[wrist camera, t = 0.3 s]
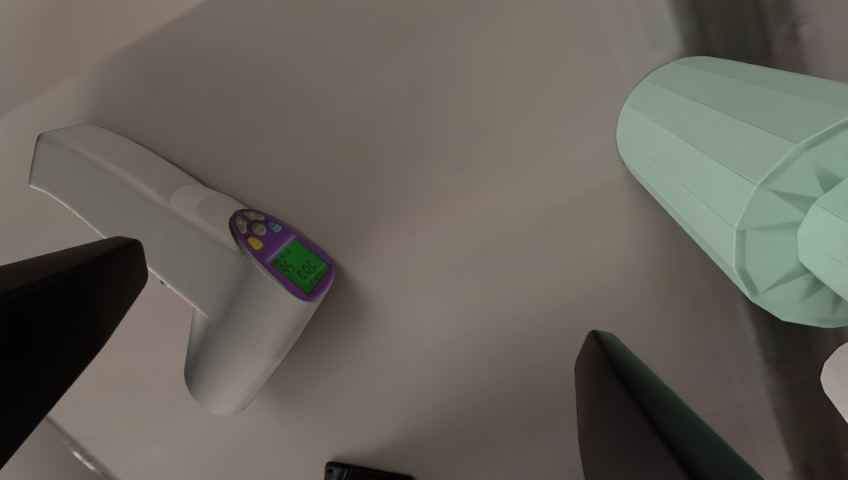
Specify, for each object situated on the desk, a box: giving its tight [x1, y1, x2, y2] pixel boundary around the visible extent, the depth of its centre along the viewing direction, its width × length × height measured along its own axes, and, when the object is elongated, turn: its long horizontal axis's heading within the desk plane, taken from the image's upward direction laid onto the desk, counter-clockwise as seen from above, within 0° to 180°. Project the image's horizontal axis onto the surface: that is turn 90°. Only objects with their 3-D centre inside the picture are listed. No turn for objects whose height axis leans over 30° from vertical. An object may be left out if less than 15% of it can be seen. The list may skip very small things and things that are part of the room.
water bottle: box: [616, 56, 848, 328], centre depth 14 cm, size 6×6×14 cm
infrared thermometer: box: [29, 124, 335, 416], centre depth 25 cm, size 5×12×15 cm
